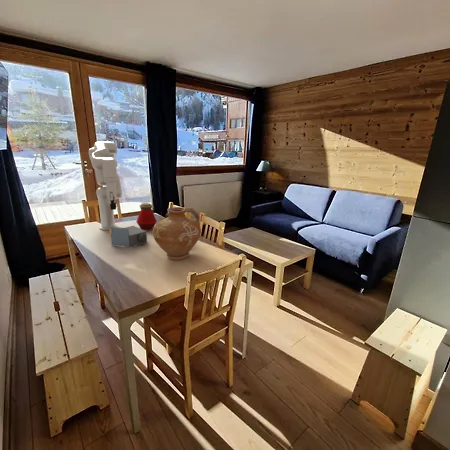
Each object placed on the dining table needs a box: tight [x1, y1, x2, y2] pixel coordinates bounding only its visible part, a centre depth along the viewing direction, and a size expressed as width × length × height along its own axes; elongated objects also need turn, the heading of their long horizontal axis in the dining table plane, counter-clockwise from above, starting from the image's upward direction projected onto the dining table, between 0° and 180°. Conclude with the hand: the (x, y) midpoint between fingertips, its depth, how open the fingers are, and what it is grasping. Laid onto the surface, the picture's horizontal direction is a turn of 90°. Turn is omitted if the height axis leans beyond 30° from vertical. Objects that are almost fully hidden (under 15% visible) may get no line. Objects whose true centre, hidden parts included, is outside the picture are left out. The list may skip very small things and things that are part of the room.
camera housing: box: [125, 225, 148, 248], centre depth 169 cm, size 18×12×8 cm, turn 50°
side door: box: [108, 226, 130, 248], centre depth 159 cm, size 12×2×12 cm, turn 80°
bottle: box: [135, 202, 158, 231], centre depth 193 cm, size 16×14×20 cm
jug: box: [152, 206, 202, 261], centre depth 148 cm, size 28×28×30 cm
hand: (113, 208), depth 158 cm, fingers open, 3 cm apart
